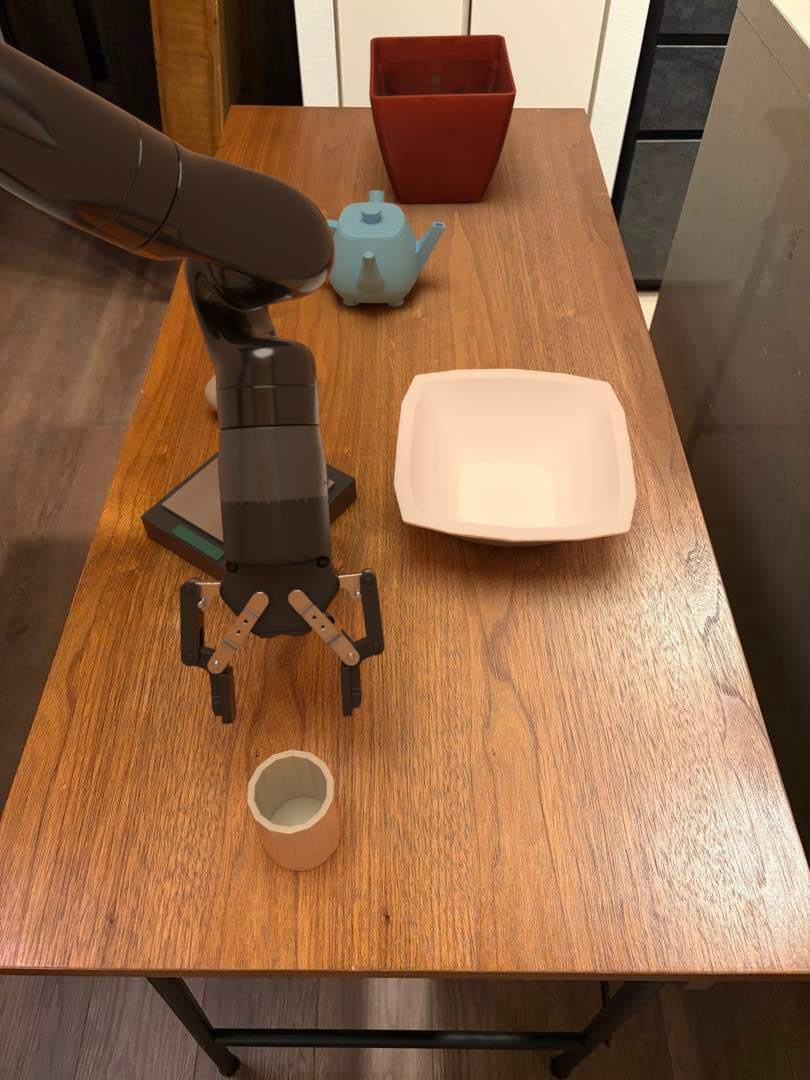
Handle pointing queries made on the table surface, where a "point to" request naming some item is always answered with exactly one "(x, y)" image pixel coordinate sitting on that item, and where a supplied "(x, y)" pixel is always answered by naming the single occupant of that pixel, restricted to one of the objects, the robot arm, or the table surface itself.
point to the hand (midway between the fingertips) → (289, 717)
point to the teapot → (377, 252)
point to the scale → (210, 551)
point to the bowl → (514, 457)
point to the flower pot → (440, 113)
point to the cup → (295, 809)
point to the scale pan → (202, 502)
